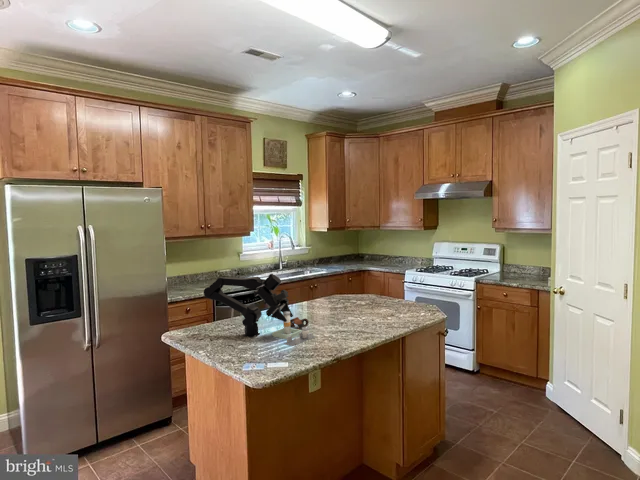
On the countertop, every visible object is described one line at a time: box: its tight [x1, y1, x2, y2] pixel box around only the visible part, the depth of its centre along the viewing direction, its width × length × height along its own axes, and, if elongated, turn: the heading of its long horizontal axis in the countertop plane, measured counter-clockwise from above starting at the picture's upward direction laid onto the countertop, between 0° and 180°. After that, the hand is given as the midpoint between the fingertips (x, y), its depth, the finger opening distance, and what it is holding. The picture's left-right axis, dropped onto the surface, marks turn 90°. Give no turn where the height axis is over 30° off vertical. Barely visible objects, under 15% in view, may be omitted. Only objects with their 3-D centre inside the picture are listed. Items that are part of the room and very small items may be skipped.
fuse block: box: [283, 332, 316, 347], centre depth 199 cm, size 6×17×4 cm, turn 142°
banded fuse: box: [282, 310, 292, 335], centre depth 208 cm, size 4×4×12 cm
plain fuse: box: [302, 326, 310, 339], centre depth 202 cm, size 4×4×5 cm
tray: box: [271, 327, 302, 340], centre depth 208 cm, size 11×11×3 cm
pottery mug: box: [290, 317, 309, 330], centre depth 219 cm, size 12×10×8 cm
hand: (289, 318), depth 207 cm, fingers open, 9 cm apart
